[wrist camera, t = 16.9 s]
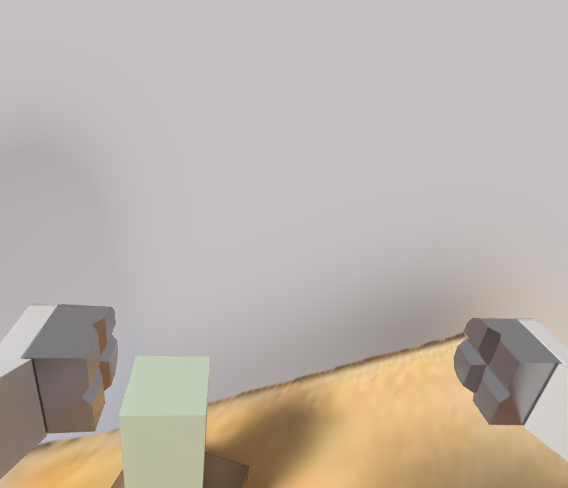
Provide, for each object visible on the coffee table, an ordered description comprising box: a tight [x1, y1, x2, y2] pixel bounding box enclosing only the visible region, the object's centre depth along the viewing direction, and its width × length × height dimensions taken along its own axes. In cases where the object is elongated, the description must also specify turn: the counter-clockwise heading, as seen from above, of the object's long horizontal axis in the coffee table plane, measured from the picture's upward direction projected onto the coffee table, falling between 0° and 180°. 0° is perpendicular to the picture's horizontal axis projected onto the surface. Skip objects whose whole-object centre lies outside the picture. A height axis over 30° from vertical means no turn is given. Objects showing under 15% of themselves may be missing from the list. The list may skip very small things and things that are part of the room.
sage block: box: [119, 356, 210, 488], centre depth 29 cm, size 5×5×13 cm
